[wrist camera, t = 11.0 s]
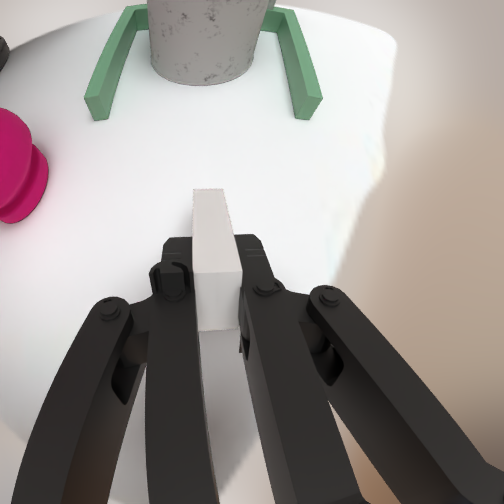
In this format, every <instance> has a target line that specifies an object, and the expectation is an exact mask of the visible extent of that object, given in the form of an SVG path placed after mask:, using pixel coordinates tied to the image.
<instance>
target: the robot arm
mask: <svg viewBox="0 0 504 504" xmlns="http://www.w3.org/2000/svg"><path fill="white" fill-rule="evenodd" d="M8 55H9V47H8V45H7V43H6V41H5V40H4V38H3V37H1V36H0V71H1V69H2V67H3V66H4V64H5V62H6V60H7V58H8ZM149 277H150V282H151V287H152V292H153V295H152V296H150V297H149V298H147V299H146V300H143V301H141V302H137V303H134V304H130V305H129V303H127V302H126V301H125V300H124V299H122V298H119V297H108V298H104V299H102V300H100V301H99V302H97V303H96V304H95V305H94V306H93V308H92V309H91V311H90V312H89V314H88V316H87V318H86V319H85V321H84V323H83V325H82V326H81V328H80V330H79V332H78V334H77V335H76V337H75V339H74V341H73V343H72V345H71V346H70V348H69V350H68V352H67V354H66V356H65V358H64V360H63V362H62V364H61V366H60V368H59V370H58V372H57V374H56V376H55V378H54V380H53V383H52V385H51V387H50V389H49V391H48V394H47V396H46V398H45V400H44V403H43V405H42V407H41V410H40V412H39V415H38V417H37V420H36V422H35V425H34V427H33V430H32V433H31V436H30V438H29V441H28V444H27V447H26V450H25V453H24V456H23V459H22V463H21V466H20V469H19V473H18V476H17V480H16V484H15V488H14V492H13V496H12V501H11V504H107V502H108V498H109V493H110V489H111V485H112V480H113V476H114V472H115V468H116V464H117V460H118V456H119V453H120V449H121V445H122V442H123V438H124V434H125V431H126V427H127V424H128V421H129V417H130V414H131V411H132V407H133V404H134V401H135V398H136V395H137V391H138V388H139V385H140V382H141V379H142V376H143V373H144V370H145V367H146V364H147V367H146V391H145V445H146V468H147V482H148V494H149V504H220V502H219V497H218V491H217V486H216V480H215V474H214V467H213V461H212V454H211V447H210V440H209V433H208V425H207V417H206V408H205V399H204V390H203V380H202V369H201V357H200V345H199V334H198V331H215V330H231V329H238V326H239V325H240V330H241V335H240V347H239V353H243V359H244V364H245V369H246V374H247V379H248V384H249V389H250V394H251V398H252V403H253V408H254V413H255V417H256V422H257V427H258V431H259V436H260V440H261V445H262V449H263V453H264V458H265V462H266V467H267V471H268V475H269V480H270V484H271V488H272V492H273V496H274V500H275V504H370V503H369V502H367V501H366V500H365V499H364V498H363V497H362V495H361V492H360V490H359V487H358V484H357V481H356V478H355V475H354V472H353V469H352V466H351V464H350V461H349V458H348V455H347V452H346V449H345V446H344V444H343V441H342V438H341V435H340V432H339V430H338V427H337V424H336V421H335V419H334V416H333V413H332V411H331V408H330V405H329V402H330V404H331V405H332V407H333V408H334V409H335V411H336V412H337V414H338V415H339V417H340V418H341V420H342V421H343V423H344V424H345V425H346V427H347V428H348V430H349V431H350V432H351V434H352V435H353V437H354V438H355V440H356V441H357V443H358V444H359V445H360V447H361V448H362V450H363V451H364V453H365V454H366V455H367V457H368V458H369V460H370V461H371V463H372V464H373V465H374V467H375V468H376V470H377V471H378V473H379V474H380V475H381V477H382V478H383V479H384V481H385V482H386V484H387V485H388V486H389V488H390V489H391V490H392V492H393V493H394V495H395V496H396V497H397V499H398V500H399V501H400V503H401V504H504V472H503V471H501V470H499V469H497V468H496V467H494V466H492V465H490V464H488V463H487V462H486V461H485V460H484V459H483V457H482V456H481V455H480V453H479V452H478V451H477V449H476V448H475V447H474V445H473V444H472V443H471V441H470V440H469V439H468V437H467V436H466V435H465V433H464V432H463V431H462V430H461V428H460V427H459V426H458V424H457V423H456V422H455V421H454V419H453V418H452V417H451V416H450V414H449V413H448V412H447V411H446V409H445V408H444V407H443V406H442V405H441V403H440V402H439V401H438V400H437V398H436V397H435V396H434V395H433V393H432V392H431V391H430V390H429V389H428V387H427V386H426V385H425V384H424V382H422V380H421V379H420V378H419V376H418V375H417V374H416V373H415V372H414V371H413V369H412V368H411V367H410V366H409V365H408V364H407V363H406V361H405V360H404V359H403V358H402V357H401V355H400V354H399V353H398V352H397V351H396V350H395V349H394V348H393V346H392V345H391V344H390V343H389V342H388V341H387V340H386V338H385V337H384V336H383V335H382V334H381V333H380V332H379V330H378V329H377V328H376V327H375V326H374V325H373V324H372V323H371V322H370V320H369V319H368V318H367V317H366V316H365V315H364V314H363V313H362V312H361V311H360V309H358V307H357V306H356V305H355V304H354V303H353V302H352V301H351V300H350V299H349V298H348V296H346V294H345V293H344V292H342V291H341V290H340V289H338V288H335V287H333V286H328V285H322V286H317V287H315V288H313V290H312V291H311V292H310V295H307V294H301V293H295V292H291V291H288V290H286V289H285V287H284V285H283V284H282V282H280V281H279V280H277V279H276V278H274V275H273V272H272V270H271V267H270V264H269V262H268V259H267V256H266V254H265V251H264V250H263V246H262V243H261V241H260V240H259V239H258V238H257V237H256V236H255V235H254V234H241V235H234V233H233V229H232V225H231V221H230V216H229V212H228V208H227V204H226V199H225V195H224V191H223V189H193V230H192V237H174V238H169V239H168V240H167V241H166V242H165V244H164V245H163V251H162V258H161V262H159V263H157V264H156V265H154V266H153V267H152V268H151V270H150V272H149ZM328 401H329V402H328Z"/></svg>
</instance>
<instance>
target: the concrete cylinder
mask: <svg viewBox="0 0 504 504" xmlns="http://www.w3.org/2000/svg"><path fill="white" fill-rule="evenodd" d="M268 3H269V0H147V9H148V24H149V35H150V46H151V64H152V66H153V68H154V70H155V71H156V72H157V73H158V74H159V75H160V76H162V77H164V78H165V79H167V80H169V81H172V82H176V83H179V84H184V85H191V86H207V85H215V84H220V83H224V82H228V81H231V80H233V79H235V78H237V77H239V76H241V75H242V74H243V73H245V72H246V71H247V70H248V69H249V67H250V66H251V64H252V61H253V54H254V50H255V47H256V43H257V40H258V36H259V33H260V29H261V26H262V23H263V19H264V16H265V13H266V10H267V6H268Z"/></svg>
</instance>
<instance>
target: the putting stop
mask: <svg viewBox="0 0 504 504" xmlns="http://www.w3.org/2000/svg"><path fill="white" fill-rule="evenodd" d="M275 2H276V0H269V3H268V6H267V10H266V13H265V16H264V19H263V23H262V26H261V29H260V30H262V31H270V32H277V34H278V38H279V42H280V46H281V51H282V55H283V59H284V64H285V68H286V73H287V78H288V83H289V87H290V92H291V97H292V103H293V108H294V113H295V118H297V119H305V120H309V119H310V118H311V116H312V115H313V113H314V112H315V110H316V108H317V107H318V105H319V104H320V102H321V101H322V99H323V97H322V93H321V90H320V86H319V83H318V80H317V76H316V73H315V70H314V66H313V63H312V60H311V57H310V54H309V51H308V48H307V45H306V42H305V39H304V36H303V34H302V31H301V28H300V25H299V23H298V20H297V18H296V15H295V12H294V10H290V9H285V8H279V7H274V5H275ZM145 29H149V24H148V9H147V4H141V5H134V6H127V7H126V8H125V10H124V11H123V13H122V15H121V17H120V18H119V20H118V22H117V24H116V26H115V28H114V29H113V31H112V33H111V35H110V37H109V39H108V41H107V43H106V45H105V47H104V50H103V52H102V54H101V56H100V58H99V61H98V63H97V65H96V68H95V70H94V72H93V75H92V77H91V80H90V82H89V85H88V88H87V90H86V93H85V96H84V100H85V102H86V104H87V106H88V108H89V110H90V112H91V115H92V117H93V119H94V121H97V120H104V119H108V117H109V113H110V109H111V105H112V101H113V98H114V94H115V91H116V87H117V84H118V81H119V78H120V75H121V72H122V69H123V66H124V63H125V60H126V57H127V55H128V52H129V49H130V47H131V44H132V41H133V39H134V37H135V34H136V32H137V30H145Z"/></svg>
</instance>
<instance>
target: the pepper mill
mask: <svg viewBox="0 0 504 504" xmlns="http://www.w3.org/2000/svg"><path fill="white" fill-rule="evenodd" d="M47 179H48V164H47V161H46V158H45V157H44V155H43V154H42V153H41V152H40V151H39V150H38V149H37V148H36V146H35V145H33V144H32V138H31V134H30V131H29V128H28V127H27V125H26V124H25V123H24V122H23V121H22V120H21V119H20V118H19V117H18V116H17V115H15V114H14V113H12V112H10V111H8V110H7V109H3V108H0V220H1V221H3V222H5V223H15V222H18V221H20V220H22V219H23V218H25V217H26V216H28V215H29V214H30V212H31V211H32V210H33V209H34V208H35V207H36V205H37V204H38V202H39V201H40V199H41V197H42V195H43V192H44V190H45V187H46V183H47Z"/></svg>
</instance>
